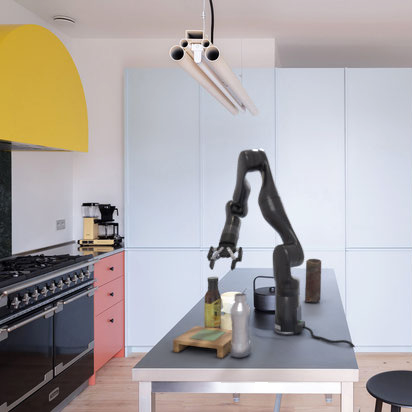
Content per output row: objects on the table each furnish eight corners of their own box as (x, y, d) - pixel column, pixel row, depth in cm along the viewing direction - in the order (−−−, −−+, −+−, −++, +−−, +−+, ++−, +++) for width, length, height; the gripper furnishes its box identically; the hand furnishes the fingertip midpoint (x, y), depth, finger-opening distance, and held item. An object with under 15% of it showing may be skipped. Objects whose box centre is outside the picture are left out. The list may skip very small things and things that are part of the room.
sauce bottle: (217, 332, 155) (216, 280, 154) (201, 331, 156) (201, 279, 155) (224, 327, 161) (223, 276, 160) (209, 325, 162) (208, 275, 161)
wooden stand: (241, 342, 145) (241, 330, 145) (222, 358, 132) (222, 345, 132) (195, 336, 150) (195, 325, 150) (173, 351, 137) (173, 339, 137)
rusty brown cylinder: (321, 300, 199) (322, 258, 198) (320, 304, 192) (320, 261, 191) (306, 299, 201) (306, 258, 200) (303, 303, 193) (304, 261, 192)
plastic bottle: (230, 352, 137) (230, 292, 136) (251, 351, 137) (251, 291, 136) (228, 360, 130) (228, 297, 129) (250, 359, 131) (250, 297, 130)
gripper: (211, 231, 178) (202, 263, 167) (244, 232, 176) (237, 264, 165) (215, 242, 183) (206, 273, 172) (247, 242, 182) (240, 274, 171)
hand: (221, 268), depth 169 cm, fingers open, 8 cm apart
